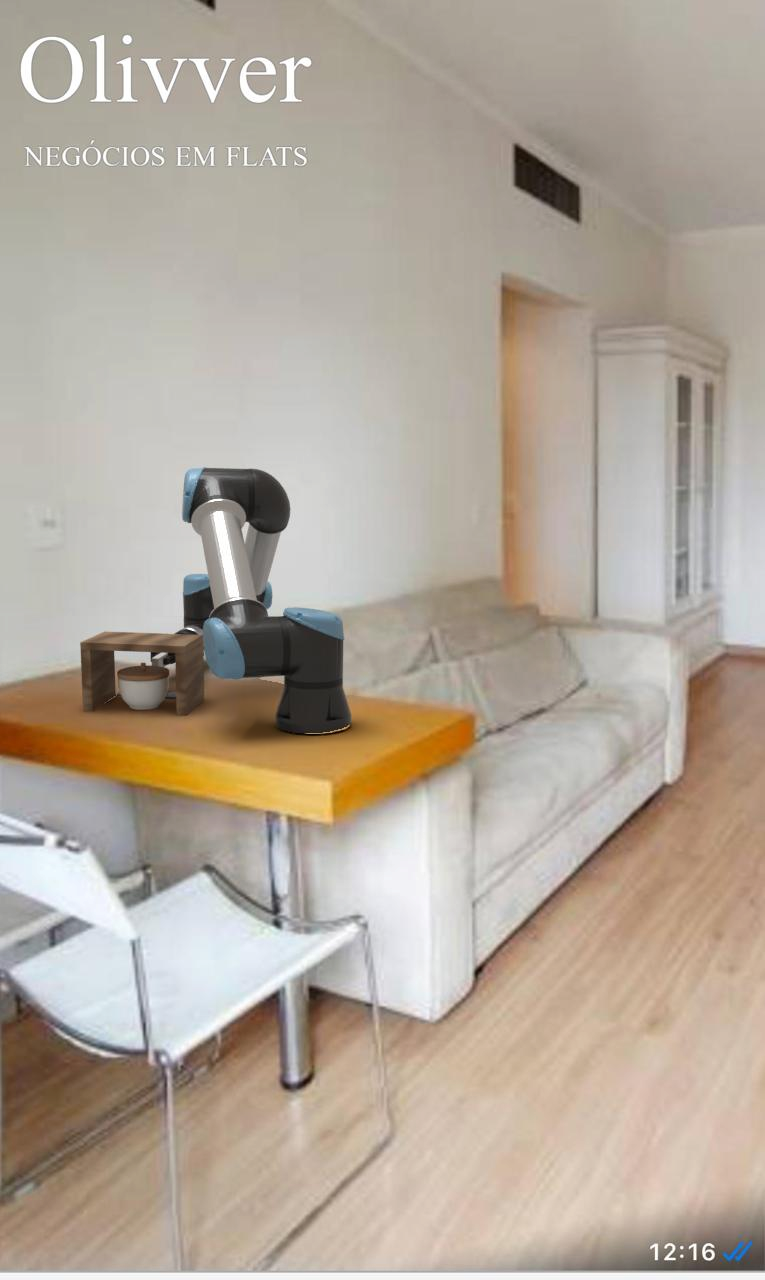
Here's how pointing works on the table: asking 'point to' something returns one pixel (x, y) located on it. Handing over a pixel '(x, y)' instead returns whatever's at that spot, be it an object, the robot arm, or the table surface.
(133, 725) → the table surface
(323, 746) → the table surface
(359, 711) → the table surface
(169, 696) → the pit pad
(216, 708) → the table surface
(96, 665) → the tunnel
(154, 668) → the lidded jar
